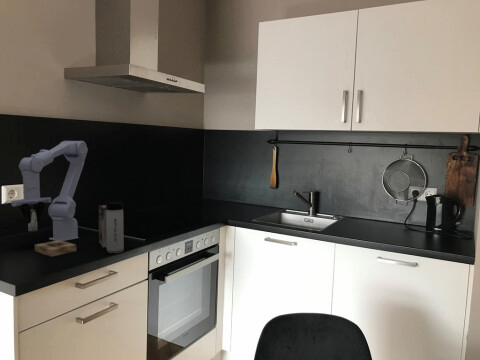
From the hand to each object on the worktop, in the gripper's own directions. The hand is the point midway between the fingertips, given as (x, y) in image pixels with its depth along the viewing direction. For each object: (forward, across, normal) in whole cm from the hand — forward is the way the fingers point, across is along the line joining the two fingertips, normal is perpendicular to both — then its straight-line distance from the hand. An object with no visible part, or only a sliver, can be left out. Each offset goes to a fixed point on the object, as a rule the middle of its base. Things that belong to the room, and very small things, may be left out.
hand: (32, 222), depth 157 cm
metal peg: (+3, 0, 0) cm, 3 cm away
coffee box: (+11, +22, -18) cm, 30 cm away
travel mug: (+11, +17, -29) cm, 35 cm away
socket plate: (+10, +3, -11) cm, 15 cm away
